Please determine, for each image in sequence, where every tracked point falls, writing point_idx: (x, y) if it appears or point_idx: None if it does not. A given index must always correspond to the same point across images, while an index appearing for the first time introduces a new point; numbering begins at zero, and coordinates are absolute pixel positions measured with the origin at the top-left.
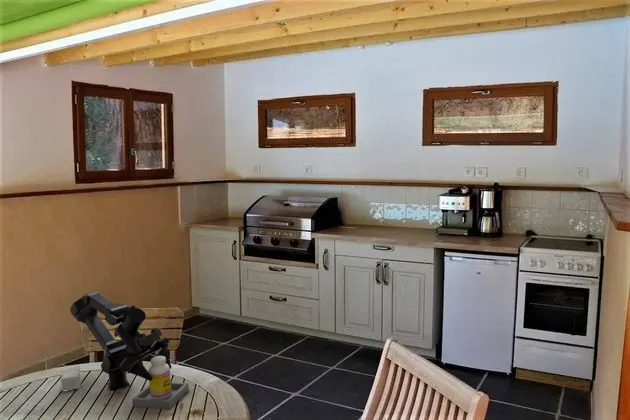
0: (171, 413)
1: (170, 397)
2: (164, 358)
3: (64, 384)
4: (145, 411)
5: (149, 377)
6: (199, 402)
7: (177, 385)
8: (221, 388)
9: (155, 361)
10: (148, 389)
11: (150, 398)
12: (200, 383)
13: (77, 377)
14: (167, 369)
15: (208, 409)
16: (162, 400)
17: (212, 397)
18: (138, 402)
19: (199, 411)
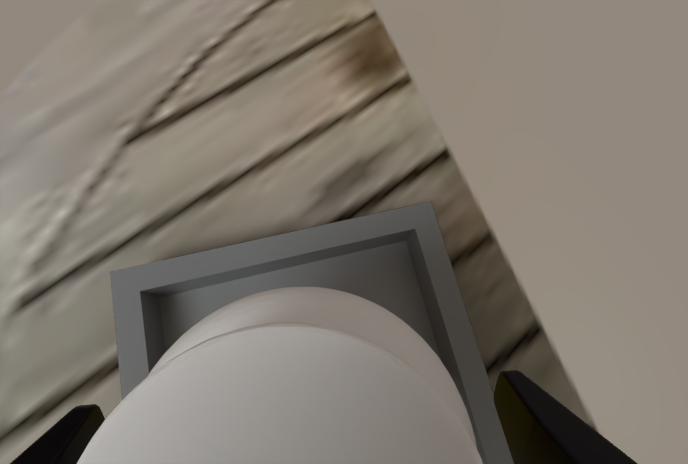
0: (449, 173)
1: (376, 234)
2: (207, 358)
3: None
4: (513, 353)
5: (552, 403)
6: (271, 106)
7: (154, 358)
8: (57, 90)
9: (477, 459)
10: None
11: None
12: (6, 275)
13: None
14: (276, 289)
15: (322, 18)
16: (439, 257)
17: (189, 73)
18: None
19: (360, 47)
